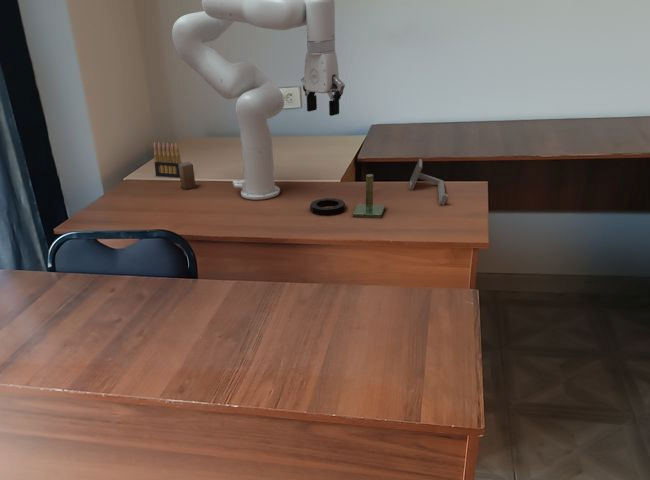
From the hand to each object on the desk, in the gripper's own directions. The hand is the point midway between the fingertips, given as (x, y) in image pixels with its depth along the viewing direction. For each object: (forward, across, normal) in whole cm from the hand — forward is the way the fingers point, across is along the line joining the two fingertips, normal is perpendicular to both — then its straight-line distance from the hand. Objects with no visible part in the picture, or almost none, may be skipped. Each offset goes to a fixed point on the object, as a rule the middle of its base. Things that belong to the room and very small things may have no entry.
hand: (322, 112), depth 189 cm
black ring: (+26, +5, -4) cm, 27 cm away
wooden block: (+26, -46, -21) cm, 57 cm away
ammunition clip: (+26, -63, -19) cm, 71 cm away
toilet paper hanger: (+27, +16, +27) cm, 41 cm away
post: (+26, +16, +3) cm, 31 cm away
